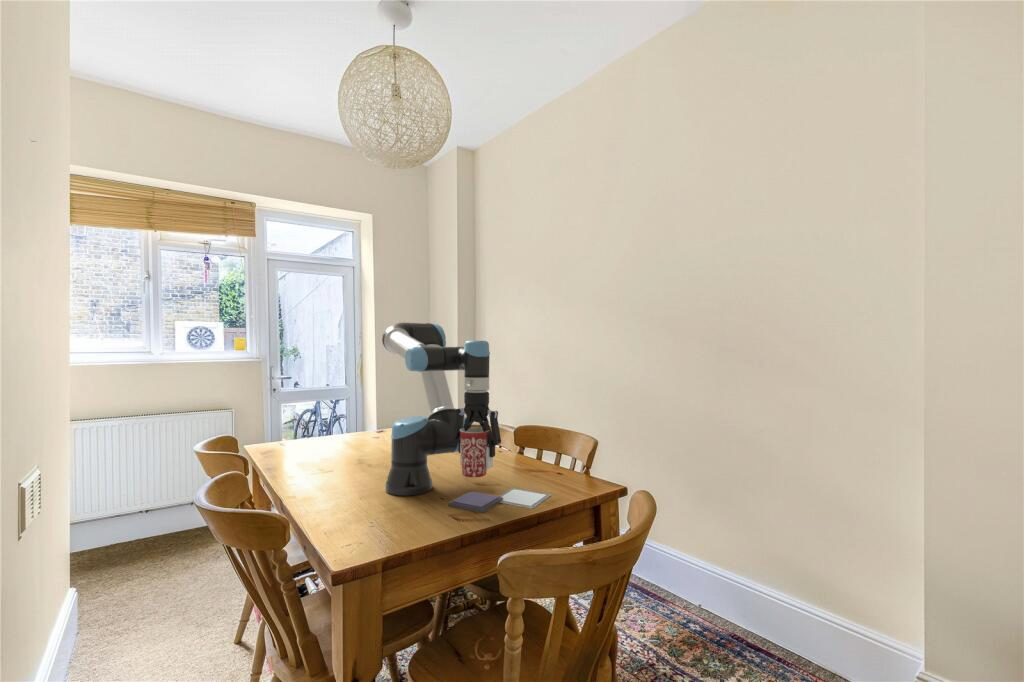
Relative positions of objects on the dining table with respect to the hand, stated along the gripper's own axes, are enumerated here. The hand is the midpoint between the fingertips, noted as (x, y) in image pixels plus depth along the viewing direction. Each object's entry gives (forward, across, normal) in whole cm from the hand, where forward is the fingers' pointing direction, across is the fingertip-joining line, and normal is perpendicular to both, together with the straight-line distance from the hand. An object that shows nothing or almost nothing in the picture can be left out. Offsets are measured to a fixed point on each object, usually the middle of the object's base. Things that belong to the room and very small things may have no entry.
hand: (476, 465), depth 140 cm
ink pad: (+11, 0, 0) cm, 11 cm away
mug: (+2, -1, 0) cm, 2 cm away
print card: (+11, +10, +11) cm, 19 cm away
